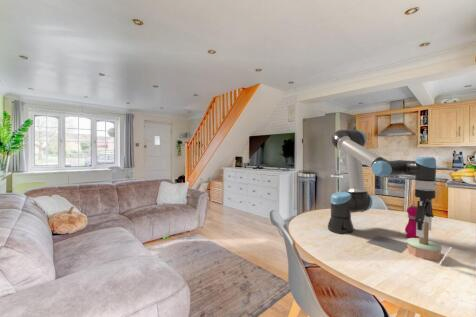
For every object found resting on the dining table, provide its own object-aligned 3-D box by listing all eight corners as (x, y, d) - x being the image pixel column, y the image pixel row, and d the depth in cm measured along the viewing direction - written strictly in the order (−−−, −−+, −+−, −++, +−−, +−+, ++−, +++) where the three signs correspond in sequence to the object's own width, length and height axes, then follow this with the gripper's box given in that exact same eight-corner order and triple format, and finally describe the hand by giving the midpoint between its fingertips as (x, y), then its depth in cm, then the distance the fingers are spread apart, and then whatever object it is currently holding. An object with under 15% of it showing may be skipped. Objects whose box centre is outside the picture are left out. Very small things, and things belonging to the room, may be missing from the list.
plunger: (402, 244, 108) (403, 222, 108) (411, 237, 116) (411, 216, 116) (438, 253, 98) (438, 229, 98) (444, 245, 106) (445, 223, 106)
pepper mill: (414, 242, 122) (415, 206, 122) (401, 237, 129) (402, 203, 128) (424, 240, 124) (425, 205, 123) (411, 235, 131) (411, 202, 130)
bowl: (404, 254, 108) (404, 244, 108) (411, 247, 116) (412, 238, 116) (436, 264, 99) (437, 253, 99) (442, 255, 106) (442, 245, 106)
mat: (366, 243, 121) (366, 242, 121) (377, 236, 131) (377, 235, 131) (401, 254, 109) (401, 252, 109) (411, 245, 118) (411, 244, 118)
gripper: (428, 194, 95) (427, 242, 96) (441, 187, 111) (440, 229, 112) (407, 191, 101) (406, 237, 102) (422, 185, 117) (421, 225, 118)
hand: (423, 233), depth 107 cm, fingers open, 13 cm apart
